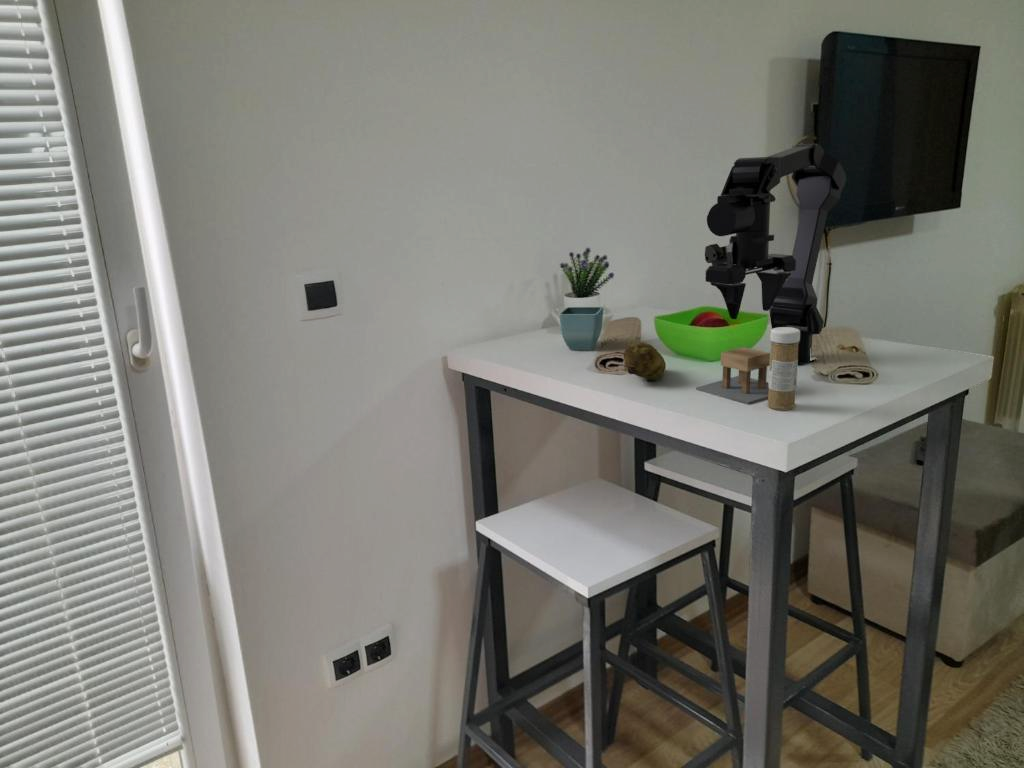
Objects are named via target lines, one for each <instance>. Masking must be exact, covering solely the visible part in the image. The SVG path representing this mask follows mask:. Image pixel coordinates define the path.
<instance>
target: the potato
mask: <svg viewBox="0 0 1024 768" xmlns="http://www.w3.org/2000/svg"><path fill="white" fill-rule="evenodd" d="M623 361H624V366H625V368H626V369H627V372H628V374H629V375H635V376H637V377H639V378H643V379H645V380H652V381H653V380H658V379H659V378H661V377H662V376H663V375H664V373H665V371H666V367H667V366H666V362H665V359H664V357H663V355H661V353H660V352H658V350H657V348H655V347H654V346H653V345H651V344H650V343H647V342H644V341H643V342H641V341H640V342H639V341H638V342H633V343H630V344H629V345H628V346H627V347H625V349H624V352H623Z"/></svg>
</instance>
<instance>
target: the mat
mask: <svg viewBox="0 0 1024 768" xmlns="http://www.w3.org/2000/svg"><path fill="white" fill-rule="evenodd" d="M738 379H739V375H736V376H733V377H732V376H731V381H730V388H727V389H726V388H722V380H723V379H721V380H718V381H715V382H710V383H707V384H704V385H703V384H702V385H699V386H696V387H695V390H697V391H699V392H703V391H704V393H707V394H710V393H711V395H714V394H715V395H714V396H717V395H719V397H722V398H724V397H725V399H728V400H732V401H735V402H738V403H742V404H745V405H751V404H755V403H759V402H761V401H764V400H768V395H769V381H766V388H765V389H760V388H758V379H756V378H751V377H750V393H748V394H744V393H742V384H740V383H738Z"/></svg>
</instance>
